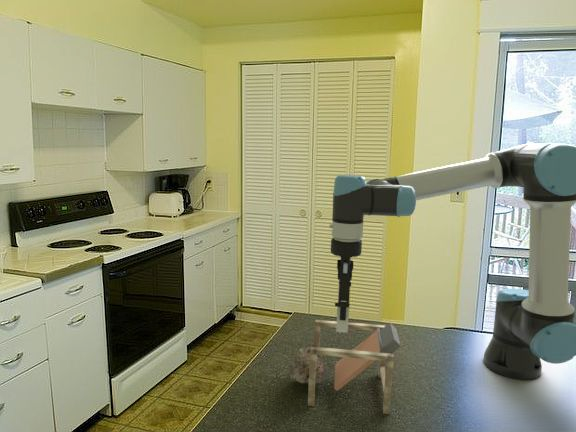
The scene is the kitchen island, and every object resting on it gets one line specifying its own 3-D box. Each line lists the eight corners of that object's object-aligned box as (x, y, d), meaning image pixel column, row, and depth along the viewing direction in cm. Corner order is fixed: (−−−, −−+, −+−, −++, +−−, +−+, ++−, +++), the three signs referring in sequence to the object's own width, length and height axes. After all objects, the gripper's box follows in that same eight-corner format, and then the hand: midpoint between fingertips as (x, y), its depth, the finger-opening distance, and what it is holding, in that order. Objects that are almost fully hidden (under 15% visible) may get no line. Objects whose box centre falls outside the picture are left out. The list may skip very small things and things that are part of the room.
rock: (333, 372, 107) (296, 353, 108) (314, 407, 111) (279, 388, 112) (339, 353, 115) (304, 335, 117) (321, 386, 119) (288, 368, 120)
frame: (383, 375, 122) (387, 325, 120) (389, 414, 105) (394, 356, 102) (313, 368, 125) (315, 319, 122) (307, 405, 107) (310, 349, 105)
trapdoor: (395, 325, 118) (388, 318, 118) (401, 350, 104) (394, 341, 104) (342, 369, 122) (335, 362, 122) (341, 398, 108) (334, 390, 108)
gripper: (332, 227, 121) (329, 301, 125) (329, 249, 97) (324, 340, 100) (360, 229, 120) (356, 303, 124) (364, 251, 96) (358, 343, 99)
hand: (342, 320), depth 112 cm, fingers open, 13 cm apart
